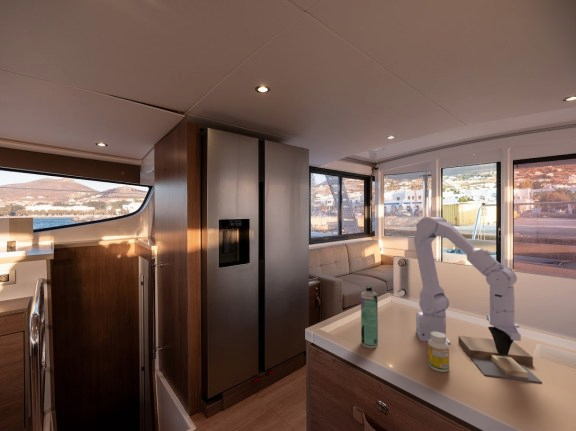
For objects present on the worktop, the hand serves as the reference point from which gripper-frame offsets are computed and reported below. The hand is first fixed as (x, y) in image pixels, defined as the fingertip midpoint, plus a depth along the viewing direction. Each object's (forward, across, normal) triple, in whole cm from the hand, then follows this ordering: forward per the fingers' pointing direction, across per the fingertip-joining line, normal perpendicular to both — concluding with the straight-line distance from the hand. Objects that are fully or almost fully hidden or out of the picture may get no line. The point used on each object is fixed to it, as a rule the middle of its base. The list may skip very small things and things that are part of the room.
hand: (502, 353), depth 77 cm
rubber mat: (+3, -4, +2) cm, 5 cm away
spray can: (+3, +2, +38) cm, 38 cm away
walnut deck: (+3, +6, 0) cm, 7 cm away
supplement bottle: (+3, -7, +19) cm, 20 cm away
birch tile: (+2, -3, 0) cm, 4 cm away
